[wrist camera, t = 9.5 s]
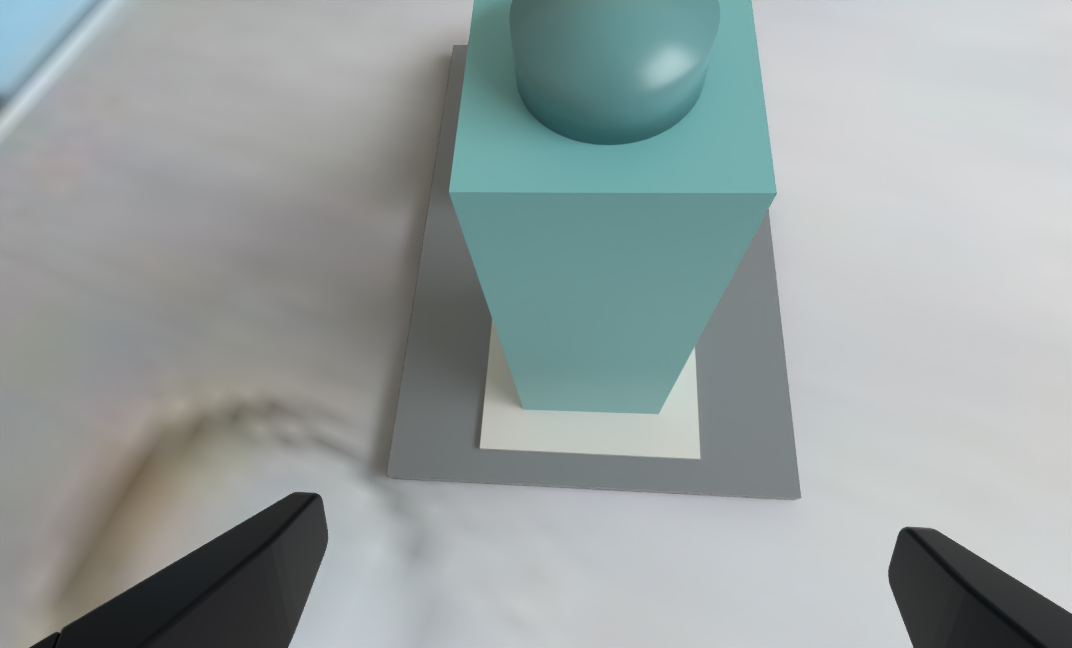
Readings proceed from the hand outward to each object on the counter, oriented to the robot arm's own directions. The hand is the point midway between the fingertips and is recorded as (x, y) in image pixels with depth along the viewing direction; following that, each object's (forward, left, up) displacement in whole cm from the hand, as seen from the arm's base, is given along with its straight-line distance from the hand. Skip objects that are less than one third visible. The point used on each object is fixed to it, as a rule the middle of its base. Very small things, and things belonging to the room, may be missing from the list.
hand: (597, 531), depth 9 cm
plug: (+5, +4, -9) cm, 11 cm away
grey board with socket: (+8, +8, -10) cm, 15 cm away
